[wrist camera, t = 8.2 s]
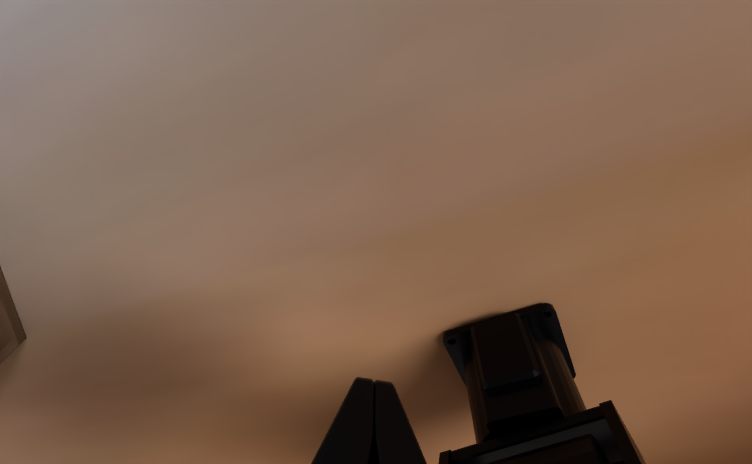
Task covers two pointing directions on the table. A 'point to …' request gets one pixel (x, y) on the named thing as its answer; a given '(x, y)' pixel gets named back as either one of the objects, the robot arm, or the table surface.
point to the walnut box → (8, 323)
